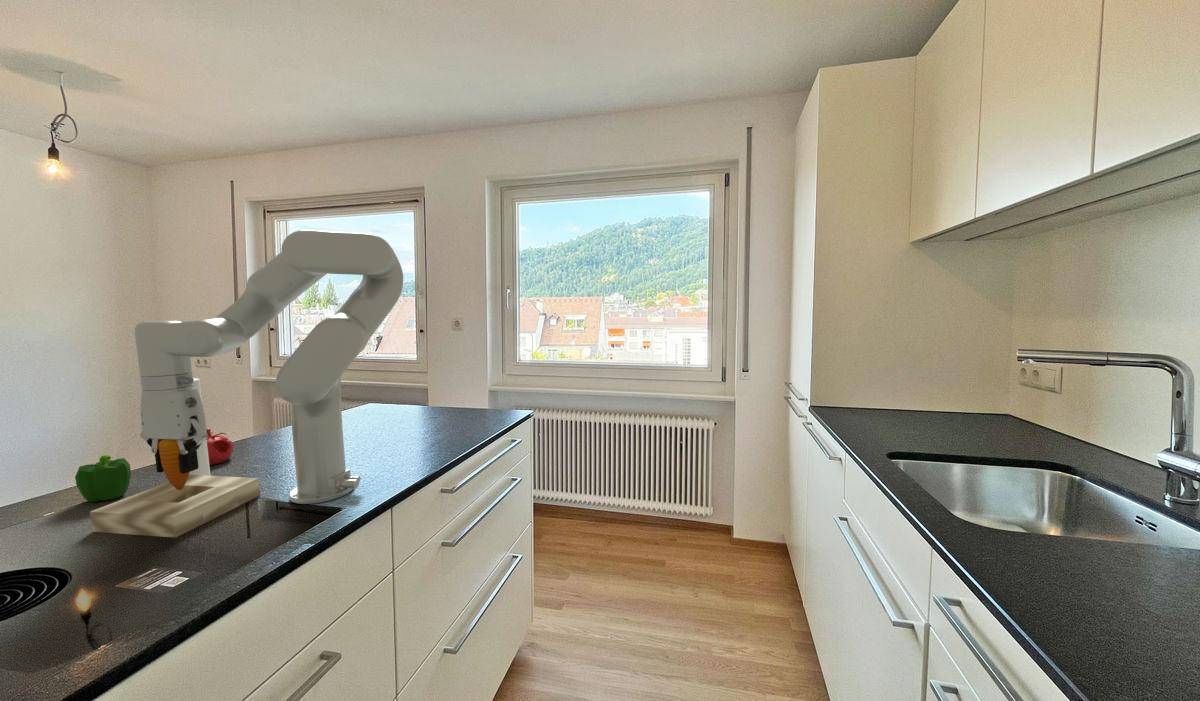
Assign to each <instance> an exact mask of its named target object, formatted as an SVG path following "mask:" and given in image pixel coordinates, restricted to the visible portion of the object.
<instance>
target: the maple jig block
mask: <svg viewBox="0 0 1200 701" xmlns="http://www.w3.org/2000/svg"><path fill="white" fill-rule="evenodd" d="M260 496H261V490H260V479H259V478H258V477H245V476H243V477H242V476H241V477H240V476H225V475H210V476H206V475H189V476H188V479H187V481H186V483H185V485H184V488H183V489H182V490H177V489H176V488H175V487H174V486H173V485H172V484H171V483H170V482H169V481H166V482H165V483H162V484H159V485H156V486H154V487H151V488H149V489H146V490H143V491H141V492H138V493H135V494H133V495H130V496H127V497H125V498H123V499H120V500H117V501H115V502H112V503H108V504H107V505H104V506H101V507H99V508H96V509H93V510H90V511H89V513H90V520H91V527H92V532H93V533H102V534H103V533H104V534H106V533H107V534H118V535H122V534H123V535H135V536H148V537H161V538H179V537H180V536H182V535H184V534H186V533H188V532H191V531H192V530H194V529H196V528H197V527H200V526H203V525H205V524H206V523H208V522H210V521H212V520H214V519H216V518H218V517H220V516H222V515H224V514H226V513H228V512H230V511H232V510H234V509H235V508H237V507H239V506H242V505H244V504H246V503H248V502H250V501H251V500H254V499H255V498H258V497H260Z"/></svg>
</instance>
